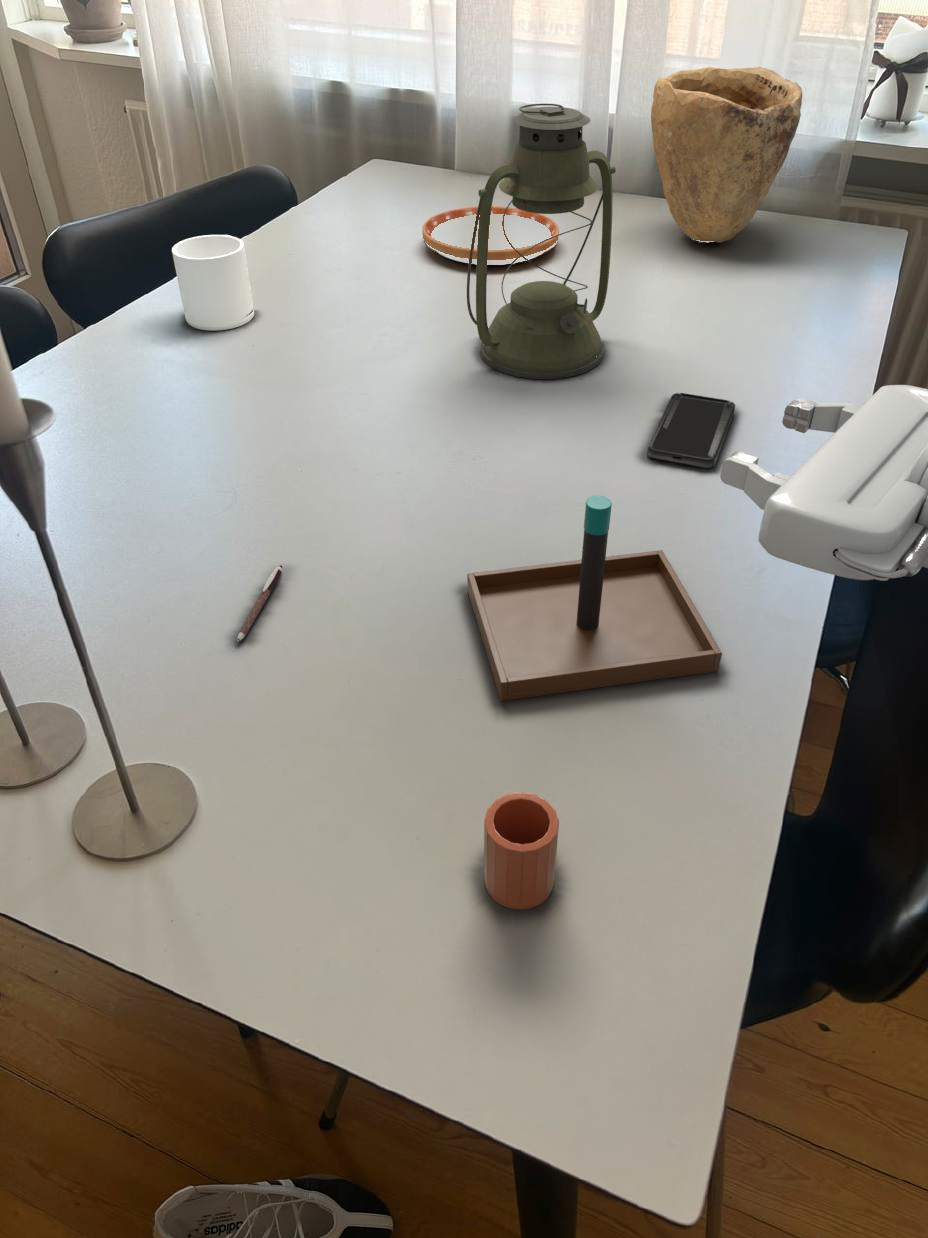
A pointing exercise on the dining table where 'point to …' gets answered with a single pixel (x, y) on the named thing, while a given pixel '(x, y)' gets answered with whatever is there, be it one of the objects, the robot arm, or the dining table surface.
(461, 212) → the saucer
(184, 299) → the mug
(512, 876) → the pen cup
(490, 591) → the tray
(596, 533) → the marker
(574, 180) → the lantern
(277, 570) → the pen
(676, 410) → the phone
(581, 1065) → the dining table surface
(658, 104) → the rough clay pot
